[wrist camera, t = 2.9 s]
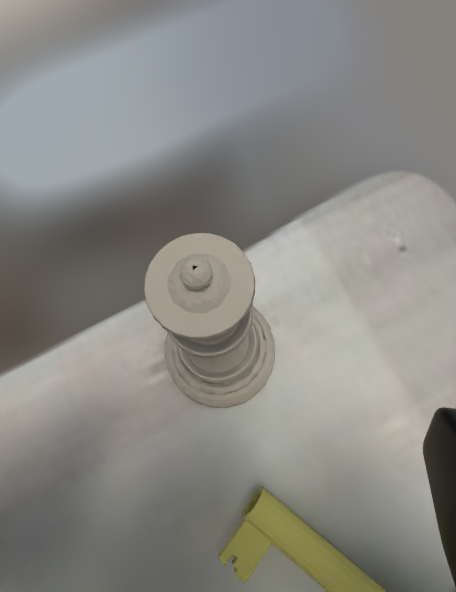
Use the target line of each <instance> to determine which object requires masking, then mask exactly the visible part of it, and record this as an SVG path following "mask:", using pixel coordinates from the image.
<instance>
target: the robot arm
mask: <svg viewBox="0 0 456 592" xmlns="http://www.w3.org/2000/svg"><path fill="white" fill-rule="evenodd" d="M423 455H424V460H425V465H426V470H427V474H428V479H429V484H430V489H431V494H432V498H433V503H434V508H435V513H436V518H437V522H438V527H439V532H440V536H441V540H442V544H443V548H444V551H445V555H446V558H447V561H448V565H449V568H450V571H451V574H452V577H453V580H454V583H455V587H456V409H453V408H444V407H443V408H439V409H438V410H437V411H436V412H435V414H434V416H433V419H432V421H431V424H430V426H429V429H428V431H427V434H426V437H425V439H424V443H423Z"/></svg>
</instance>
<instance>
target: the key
mask: <svg viewBox="0 0 456 592" xmlns="http://www.w3.org/2000/svg"><path fill="white" fill-rule="evenodd" d="M242 518H244V519H243V520H242V522H241V523H240V524H239V526H238V527H237V529H236V530H235V531H234V533H233V534H232V536H231V537H230V539H229V540H228V541H227V543H226V544H225V546H224V547H223V548H222V550H221V551H220V553H219V554H218V560H220V561H221V562H222V563H223V564H224V565H225V564H226V563H227V561H228V560H229V558H230V557H231V556H232V554H233V555H234V556H235V557H234V558H233V560H232V563H233V566H234V567H235V568H234V574H235V575H236V576H238V577H239V578H240V579H241V580H242V581H243V582H244V583H245V581H246V580H247V579H248V577H249V576H250V574H251V573H252V571H253V570H254V568H255V567H256V565H257V564H258V562H259V561H260V559H261V558H262V556H263V555H264V553H265V552H266V551H267V549H268V548H269V546H270V545H271V543H273V544H274V545H275V546H276V547H277V548H278V549H279V550H281V551H282V552H283V553H284V554H285V555H286V556H288V557H289V558H290V559H291V560H292V561H293V562H295V563H296V564H297V565H298V566H299V567H300V568H302V569H303V570H304V571H305V572H306V573H307V574H308V575H310V576H311V577H312V578H313V579H314V580H315V581H317V582H318V583H319V584H320V585H321V586H322V587H324V588H325V589H326V590H327V591H328V592H387V591H385V590H384V589H383V588H382V587H381V586H379V585H378V584H377V583H376V582H375V581H373V580H372V579H371V578H370V577H369V576H368V575H366V574H365V573H364V572H363V571H362V570H360V569H359V568H358V567H357V566H356V565H355V564H353V563H352V562H351V561H350V560H349V559H347V558H346V557H345V556H344V555H343V554H342V553H340V552H339V551H338V550H337V549H336V548H334V547H333V546H332V545H331V544H330V543H328V542H327V541H326V540H325V539H324V538H323V537H321V536H320V535H319V534H318V533H317V532H315V531H314V530H313V529H312V528H311V527H310V526H308V525H307V524H306V523H305V522H304V521H302V520H301V519H300V518H299V517H298V516H297V515H295V514H294V513H293V512H292V511H291V510H289V509H288V508H287V507H286V506H285V505H283V504H282V503H281V502H280V501H279V500H278V499H276V498H275V497H274V496H273V495H272V494H270V493H269V492H268V491H267V490H266V489H265V488H263V487H261V488H260V489H258V491H257V492H256V493H255V494H254V495H253V496H252V498H251V499H250V501H249V502H248V504H247V506H246V507H245V509H244V512H243V515H242Z"/></svg>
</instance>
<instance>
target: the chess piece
mask: <svg viewBox="0 0 456 592" xmlns="http://www.w3.org/2000/svg"><path fill="white" fill-rule="evenodd" d="M144 292H145V297H146V301H147V305H148V307H149V309H150V311H151V313H152V315H153V317H154V319H155V320H156V321H157V322H158V323H159V324H160V325H161V326H162V327H163V328H164V329H165V330H167V332H168V335H167V338H166V341H165V359H166V363H167V368H168V371H169V372H170V374H171V376H172V378H173V380H174V382H175V383H176V384H177V386H178V387H179V388H180V389H181V390H182V391H183V392H184V393H185V394H186V395H187V396H188V397H190V398H192V399H193V400H195V401H197V402H198V403H200V404H204V405H207V406H211V407H231V406H234V405H238V404H242V403H243V402H245V401H247V400H248V399H250V398H252V397H253V396H255V395H256V393H257V392H258V391H259V390H260V389H261V388H262V387H263V386H264V385H265V383H266V381H267V379H268V377H269V375H270V374H271V371H272V367H273V363H274V356H275V349H274V338H273V335H272V332H271V328H270V326H269V324H268V323H267V321H266V320H265V318H264V316H263V315H262V314H261V313H260V312H259V311H258V310H257V309H256V308H255V307H254V306H253V305H252V302H253V298H254V294H255V276H254V273H253V270H252V267H251V263H250V262H249V260H248V259H247V257H246V256H245V254H244V253H243V251H242V250H240V249H239V248H238V247H237V246H236V245H235V244H234V243H232V242H231V241H229V240H227V239H225V238H223V237H221V236H217V235H213V234H208V233H199V234H198V233H195V234H194V233H193V234H189V235H186V236H182V237H179V238H177V239H175V240H173V241H172V242H170V243H168V244H167V245H165V246H164V247H163V248H162V249H161V250H160V251H159V252H158V253H157V254H156V256H155V257H154V259H153V260H152V262H151V263H150V265H149V268H148V271H147V274H146V277H145V289H144Z"/></svg>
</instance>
